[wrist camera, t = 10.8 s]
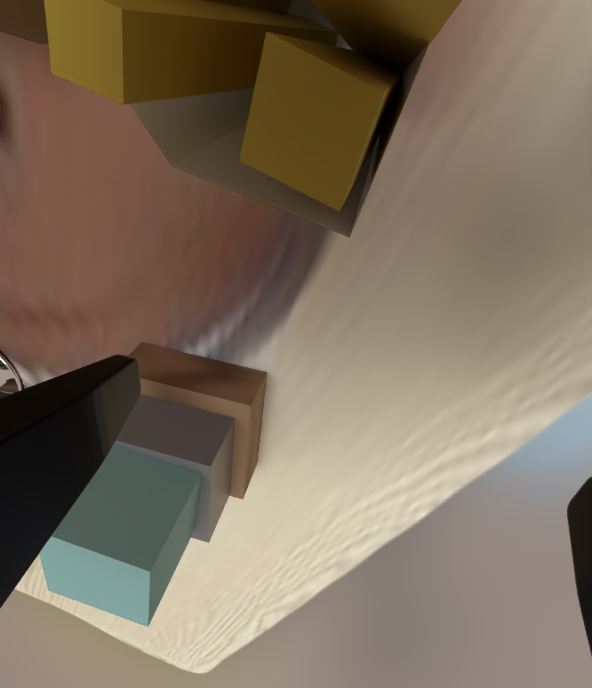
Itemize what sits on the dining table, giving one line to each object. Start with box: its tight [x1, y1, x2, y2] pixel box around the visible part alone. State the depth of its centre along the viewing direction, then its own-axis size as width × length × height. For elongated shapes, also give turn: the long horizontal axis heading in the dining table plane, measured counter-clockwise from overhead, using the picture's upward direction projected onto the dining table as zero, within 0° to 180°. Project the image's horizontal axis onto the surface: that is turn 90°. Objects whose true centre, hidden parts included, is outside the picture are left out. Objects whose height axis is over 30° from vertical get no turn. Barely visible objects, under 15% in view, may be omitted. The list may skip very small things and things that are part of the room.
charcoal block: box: [114, 394, 235, 543], centre depth 24 cm, size 6×6×4 cm
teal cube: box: [40, 444, 202, 627], centre depth 20 cm, size 5×5×5 cm
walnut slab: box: [128, 343, 267, 499], centre depth 26 cm, size 8×8×4 cm
